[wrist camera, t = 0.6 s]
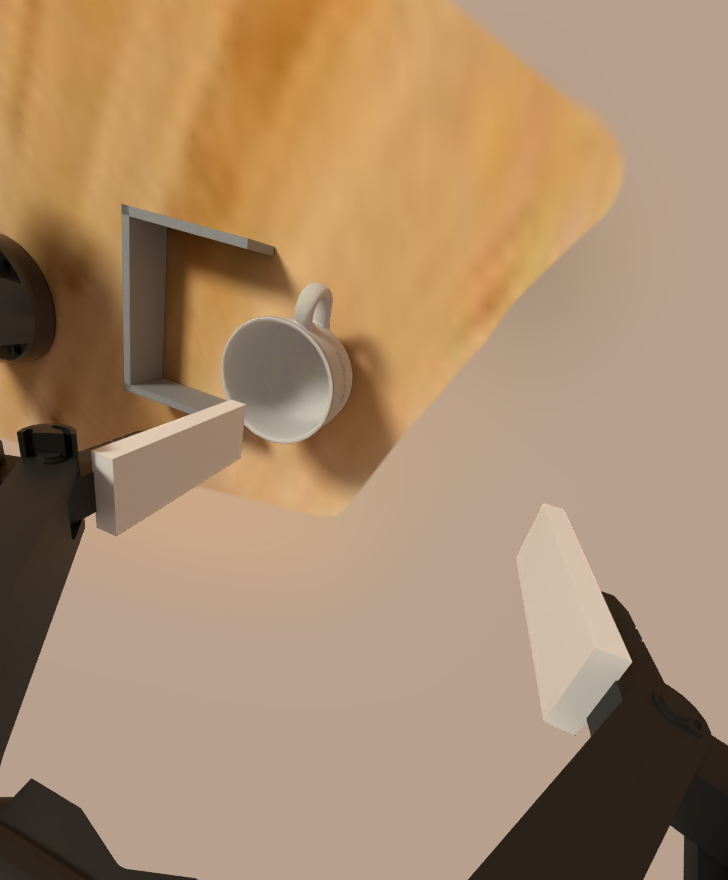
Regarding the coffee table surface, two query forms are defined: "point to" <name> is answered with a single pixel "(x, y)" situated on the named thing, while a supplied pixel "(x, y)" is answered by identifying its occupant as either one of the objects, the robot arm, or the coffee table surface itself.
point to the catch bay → (157, 305)
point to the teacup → (288, 370)
